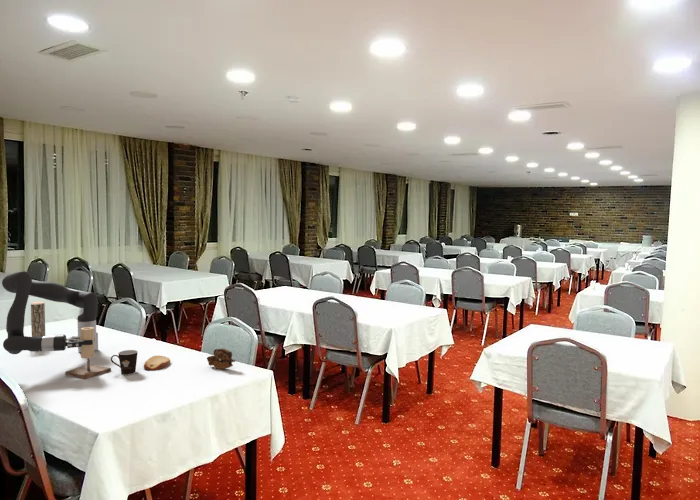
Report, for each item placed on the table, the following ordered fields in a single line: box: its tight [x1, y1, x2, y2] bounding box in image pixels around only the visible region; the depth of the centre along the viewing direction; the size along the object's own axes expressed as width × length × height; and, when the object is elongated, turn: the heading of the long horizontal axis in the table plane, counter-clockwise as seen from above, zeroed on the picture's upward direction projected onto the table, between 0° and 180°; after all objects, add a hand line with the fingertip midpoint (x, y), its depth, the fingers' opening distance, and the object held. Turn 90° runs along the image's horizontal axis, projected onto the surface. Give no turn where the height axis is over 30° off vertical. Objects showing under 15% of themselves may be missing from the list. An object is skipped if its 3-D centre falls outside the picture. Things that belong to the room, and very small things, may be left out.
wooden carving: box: [206, 348, 236, 370], centre depth 258 cm, size 16×5×10 cm, turn 70°
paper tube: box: [30, 301, 46, 337], centre depth 299 cm, size 7×7×25 cm
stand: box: [65, 358, 112, 380], centre depth 249 cm, size 14×14×8 cm
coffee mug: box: [110, 349, 139, 375], centre depth 251 cm, size 12×9×10 cm
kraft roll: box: [80, 327, 95, 359], centre depth 248 cm, size 5×5×14 cm
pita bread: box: [143, 355, 171, 372], centre depth 264 cm, size 18×18×4 cm
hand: (93, 340), depth 249 cm, fingers closed on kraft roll, 5 cm apart
